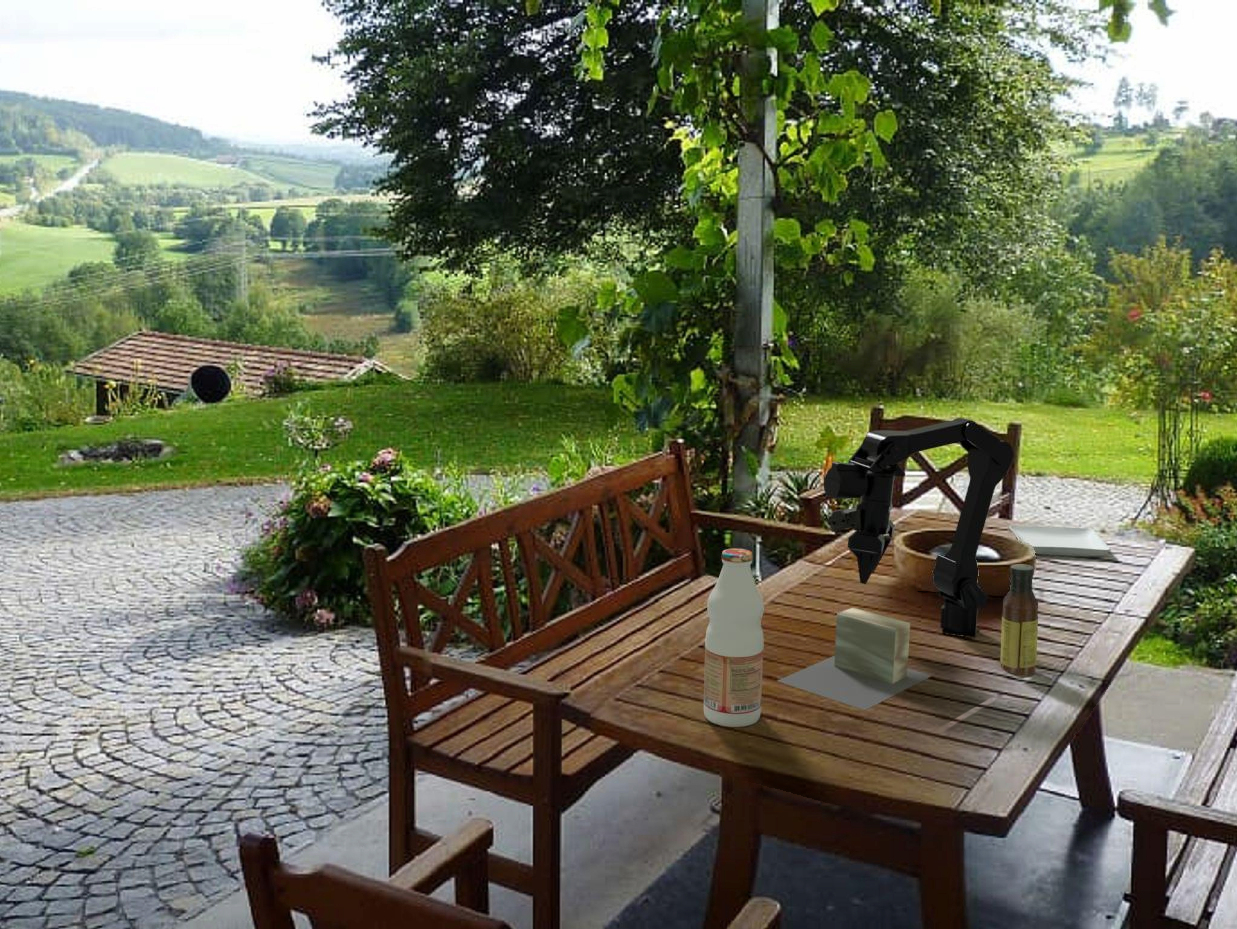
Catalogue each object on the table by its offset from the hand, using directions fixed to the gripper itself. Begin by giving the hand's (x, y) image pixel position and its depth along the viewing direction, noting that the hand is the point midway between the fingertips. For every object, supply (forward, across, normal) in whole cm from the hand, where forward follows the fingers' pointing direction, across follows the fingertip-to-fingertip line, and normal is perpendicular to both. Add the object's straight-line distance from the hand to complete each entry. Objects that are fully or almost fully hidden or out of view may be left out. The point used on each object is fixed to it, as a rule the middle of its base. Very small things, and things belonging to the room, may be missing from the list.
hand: (867, 578), depth 224 cm
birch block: (+13, +15, +4) cm, 20 cm away
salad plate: (+8, -92, +35) cm, 99 cm away
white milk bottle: (+16, +42, -14) cm, 47 cm away
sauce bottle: (+12, +3, +29) cm, 32 cm away
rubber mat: (+14, +19, +2) cm, 24 cm away
